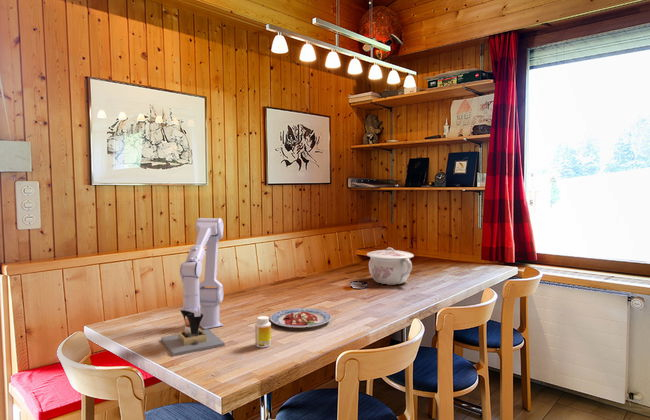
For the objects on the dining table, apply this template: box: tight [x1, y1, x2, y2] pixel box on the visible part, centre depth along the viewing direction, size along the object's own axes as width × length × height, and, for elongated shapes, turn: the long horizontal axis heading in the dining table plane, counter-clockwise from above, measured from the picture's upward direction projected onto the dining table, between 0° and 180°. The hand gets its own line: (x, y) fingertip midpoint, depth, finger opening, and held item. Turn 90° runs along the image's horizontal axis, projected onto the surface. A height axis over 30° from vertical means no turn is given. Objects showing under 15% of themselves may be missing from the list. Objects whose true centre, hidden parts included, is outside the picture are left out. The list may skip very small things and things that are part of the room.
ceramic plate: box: [269, 307, 332, 329], centre depth 189 cm, size 26×26×3 cm
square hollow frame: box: [177, 327, 207, 346], centre depth 164 cm, size 11×8×2 cm
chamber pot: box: [366, 247, 415, 286], centre depth 260 cm, size 28×28×21 cm
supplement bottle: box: [254, 315, 272, 349], centre depth 161 cm, size 6×6×10 cm
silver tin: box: [184, 314, 199, 338], centre depth 164 cm, size 5×5×9 cm
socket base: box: [160, 328, 226, 357], centre depth 164 cm, size 18×18×1 cm
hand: (192, 331), depth 164 cm, fingers open, 6 cm apart
